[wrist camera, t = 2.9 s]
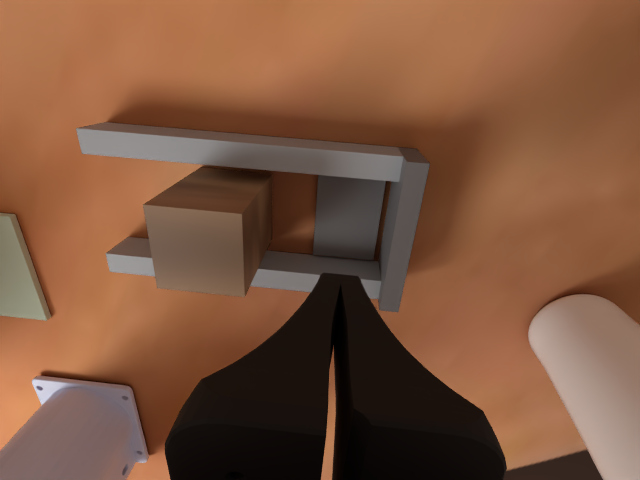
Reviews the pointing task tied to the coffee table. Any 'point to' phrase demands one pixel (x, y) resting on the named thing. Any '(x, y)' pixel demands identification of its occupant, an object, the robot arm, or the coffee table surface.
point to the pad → (18, 275)
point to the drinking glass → (595, 376)
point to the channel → (331, 208)
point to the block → (210, 231)
